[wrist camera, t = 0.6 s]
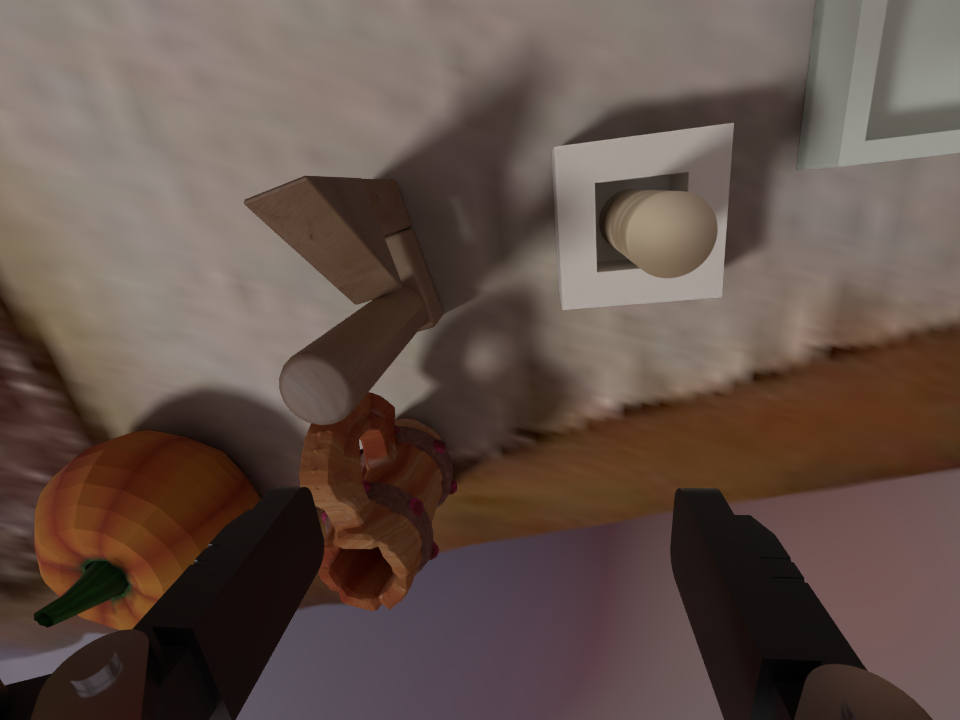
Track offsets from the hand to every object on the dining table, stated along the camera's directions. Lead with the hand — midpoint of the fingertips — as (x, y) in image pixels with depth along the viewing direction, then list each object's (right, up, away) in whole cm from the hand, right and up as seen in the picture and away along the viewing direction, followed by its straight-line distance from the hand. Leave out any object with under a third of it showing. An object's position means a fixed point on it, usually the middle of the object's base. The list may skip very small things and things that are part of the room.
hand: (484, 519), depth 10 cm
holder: (+10, +14, +23) cm, 28 cm away
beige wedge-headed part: (-6, +12, +26) cm, 29 cm away
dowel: (+10, +13, +22) cm, 27 cm away
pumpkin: (-29, -10, +37) cm, 49 cm away
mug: (-7, -2, +31) cm, 32 cm away
